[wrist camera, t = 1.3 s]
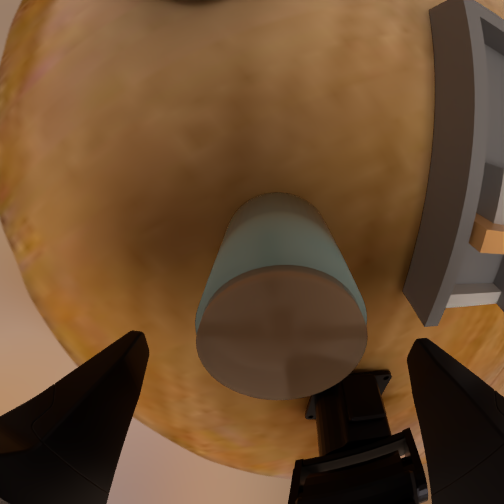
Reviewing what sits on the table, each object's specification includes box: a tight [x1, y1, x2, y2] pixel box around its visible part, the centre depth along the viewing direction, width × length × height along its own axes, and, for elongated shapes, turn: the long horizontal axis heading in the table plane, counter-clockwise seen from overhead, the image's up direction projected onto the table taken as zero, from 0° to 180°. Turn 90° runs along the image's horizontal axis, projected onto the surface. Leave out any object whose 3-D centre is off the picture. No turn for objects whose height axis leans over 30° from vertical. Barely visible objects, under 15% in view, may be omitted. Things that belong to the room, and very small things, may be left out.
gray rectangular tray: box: [402, 0, 504, 327], centre depth 10 cm, size 18×9×4 cm, turn 179°
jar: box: [195, 193, 367, 400], centre depth 12 cm, size 6×6×8 cm
